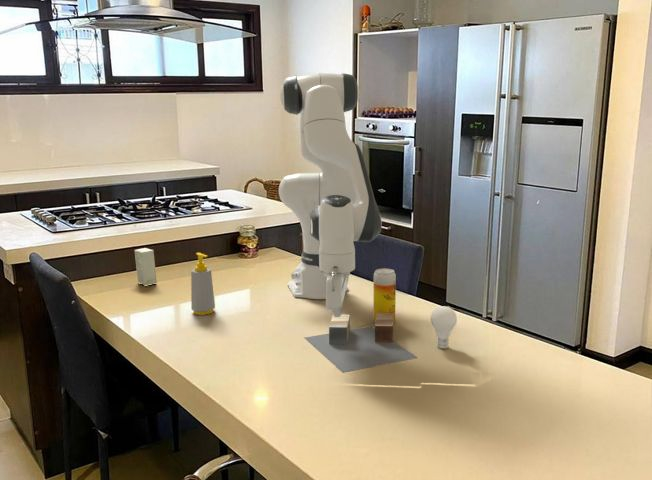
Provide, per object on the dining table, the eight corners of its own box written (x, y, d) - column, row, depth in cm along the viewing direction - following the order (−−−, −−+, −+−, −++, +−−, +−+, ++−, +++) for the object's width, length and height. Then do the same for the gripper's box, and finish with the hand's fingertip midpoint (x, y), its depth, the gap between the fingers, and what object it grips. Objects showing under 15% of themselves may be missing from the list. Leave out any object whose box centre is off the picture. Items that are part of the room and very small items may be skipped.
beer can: (394, 327, 173) (394, 274, 170) (372, 325, 174) (372, 273, 171) (396, 319, 179) (396, 268, 176) (374, 318, 180) (375, 267, 177)
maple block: (346, 327, 159) (349, 314, 169) (329, 327, 160) (332, 314, 169) (346, 344, 160) (349, 330, 170) (329, 344, 161) (333, 330, 170)
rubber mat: (304, 339, 165) (303, 337, 165) (371, 327, 173) (371, 326, 173) (342, 374, 144) (342, 372, 144) (418, 359, 151) (418, 357, 151)
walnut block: (392, 326, 160) (393, 313, 170) (374, 325, 160) (376, 312, 170) (392, 342, 161) (393, 329, 170) (374, 342, 161) (376, 328, 171)
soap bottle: (199, 317, 183) (195, 257, 179) (187, 312, 188) (183, 253, 184) (219, 312, 187) (216, 253, 183) (207, 306, 192) (204, 249, 188)
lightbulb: (439, 342, 162) (440, 301, 160) (460, 348, 158) (462, 306, 155) (424, 348, 158) (425, 307, 155) (446, 355, 153) (447, 312, 151)
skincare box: (157, 284, 216) (154, 250, 214) (145, 287, 213) (142, 252, 211) (148, 281, 221) (146, 247, 218) (136, 283, 218) (134, 249, 215)
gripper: (346, 273, 145) (346, 330, 148) (352, 252, 165) (352, 302, 168) (319, 273, 146) (320, 329, 149) (328, 252, 165) (329, 302, 169)
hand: (337, 315), depth 158 cm, fingers closed
